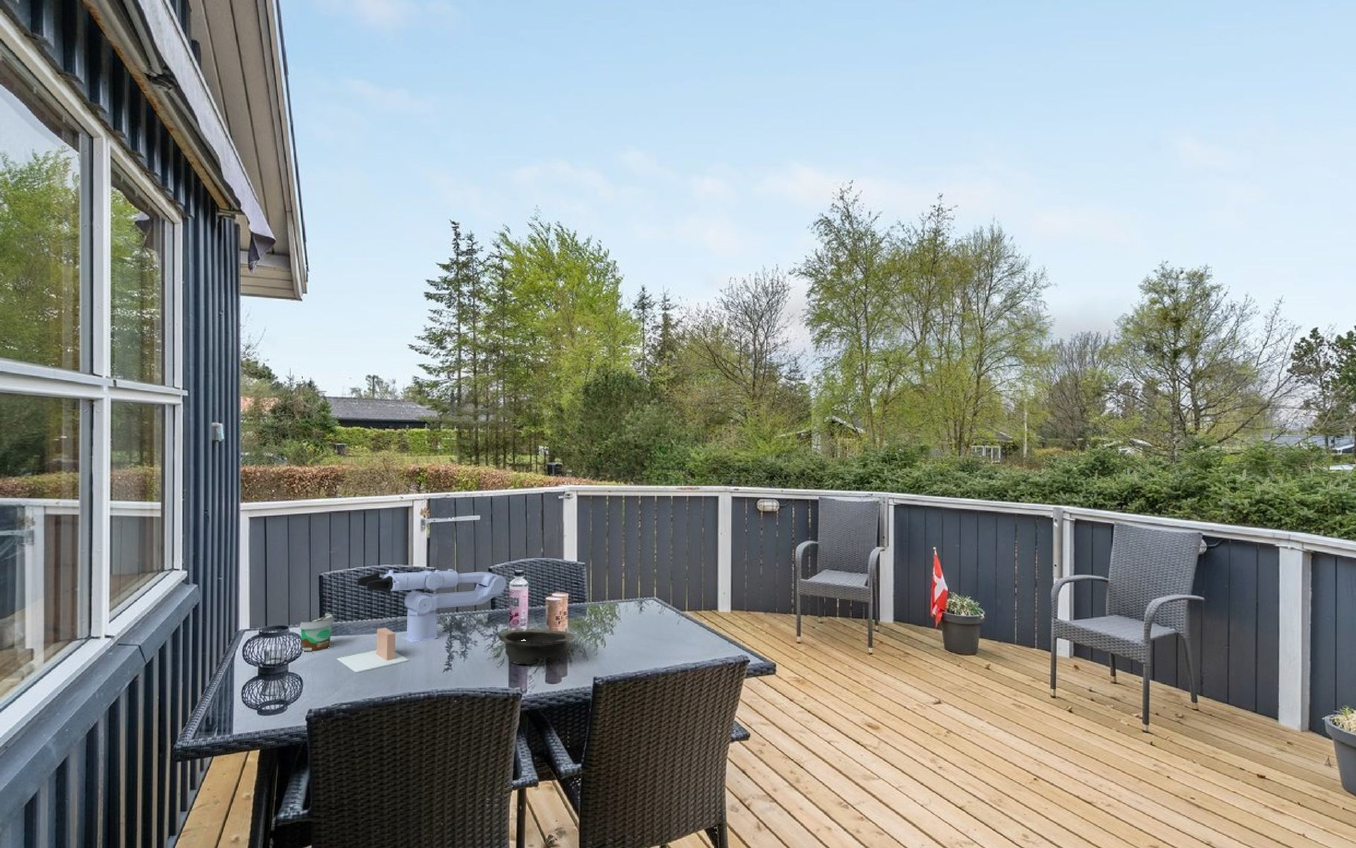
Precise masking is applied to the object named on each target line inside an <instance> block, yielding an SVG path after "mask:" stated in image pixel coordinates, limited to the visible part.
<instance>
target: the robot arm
mask: <svg viewBox="0 0 1356 848" xmlns="http://www.w3.org/2000/svg"><path fill="white" fill-rule="evenodd" d="M469 583H470V584H471V583H472V584H476V586H475V588H474V590H472V591H469V590H467V591H458V592H457V591H456V592H455V591H454V592H442V593H441V592H440V593H431V592H430V593H429V592H419V591H418V590H420V589H427V590H430V591H431V590H433V591H436V590H437V589H441V588H454V587H456V586H457V585H458V584H469ZM357 585H358V586H362V587H366V590H369V591H378V592H382V593H386V594H388V595H390V594H391V592H393V591H396V592H397V591H407V590H408V591H409V590H412V591H410V592H409V593H408V594H406V596H405V597H404V605H405V608H407V613H406V614H407V616H406V617H407V618H406V635H403V636H402V637H401V638H402V639H403V640H405V641H408V642H409V643H412V644H413V643H419V642H423V641H427V640H433V639H438V638H439V636H438V615H437V613H436V610H437V609H441V608H442V609H443V608H454V607H456V608H457V607H466V606H467V607H469V606H478V605H483V604H486V602H489V601H490V600H491V599H493V598H494V597H497V596H500V595H501V594H502V593H503V591H504V590H505V589H506V586H507V580H506V577H504V576H502V575H498V574H495V573H493V572H490V571H475V572H465V573H458V572H457V570H454V569H452V568H448V569H447V570H439V569H435V571H430V570H428V569H425V570H422V571H421V572H418V571H416V572H394V570H393V569H389V570H388V573H386V574H384V575H381V573H380V571H375V572H373V573H372V574H369V575H365V576H363V577H362V576H361V577H359V578H357Z"/></svg>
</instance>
